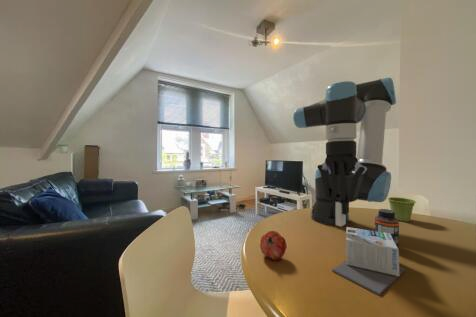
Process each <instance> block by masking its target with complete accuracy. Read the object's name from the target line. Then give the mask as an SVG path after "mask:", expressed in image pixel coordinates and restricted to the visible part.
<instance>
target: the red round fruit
mask: <svg viewBox="0 0 476 317" xmlns="http://www.w3.org/2000/svg"><path fill="white" fill-rule="evenodd" d="M259 248H260V250H261V253H262V254H263V256H265V257H267V258H269V259H272V260H274V261H275V260H276V261H278V260H280V259H282V258H283V257H284V255H285V253H286V249H287V242H286V239H285V237H284V236H282V235H281V234H280V233H279V232H278V231H274V230H270V231H268V232H266V233H265V234H263V235H262V236H261V238H260V244H259Z"/></svg>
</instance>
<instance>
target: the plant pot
mask: <svg viewBox="0 0 476 317" xmlns="http://www.w3.org/2000/svg"><path fill="white" fill-rule="evenodd" d="M387 201H388V204H389V207H390V210H392V211H394V212H395V216H394V217H395V218H396V219H398V221H400V222H407V223H408V222H410V221H411V219H412V213H413V209H414V206H415V203H417V202H416V200H414V199H411V198H406V197H399V196H398V197H396V196H395V197H387Z"/></svg>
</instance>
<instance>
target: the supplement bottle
mask: <svg viewBox="0 0 476 317" xmlns="http://www.w3.org/2000/svg"><path fill="white" fill-rule="evenodd" d="M394 216H395V212H394V211H392V210H391V209H388V208H379V209H378V214H377V215H376V216H375V217H374V231H377V232H385V233H390V234H391V236H392V238H393V240H394V242H395V244H396V246H397V248H398V249H399V246H400V243H399V242H400V237H399V236H400V222H399V221H400V220H398V219H396V218H395V217H394Z"/></svg>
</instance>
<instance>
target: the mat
mask: <svg viewBox="0 0 476 317" xmlns="http://www.w3.org/2000/svg"><path fill="white" fill-rule="evenodd" d="M331 270H332V272H333V273H335V274H337V275H339V276H341V277H343V278H344V279H347V280H348V281H350V282H352V283H353V284H355V285H358V286H360V287H362V288H364V289H366V290H368V291H369V292H372V293H374V294H375V295H377V296H380V295H382V294H383V293H384V292H385V291H386V290H387V288H389V287H390V285H392V283H393V282H395V281H396V280H397V279H398V278H399V277H400V276H395V275H391V274H386V273H382V272H377V271H373V270H369V269H364V268H360V267H355V266H351V265H347V264H346V260H345V261H343V262H342V263H341V264H339V265H337V266H335V267H333V268H332V269H331ZM399 271H400V275H402V274H403V272H405V267H402V266H400V265H399Z"/></svg>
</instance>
